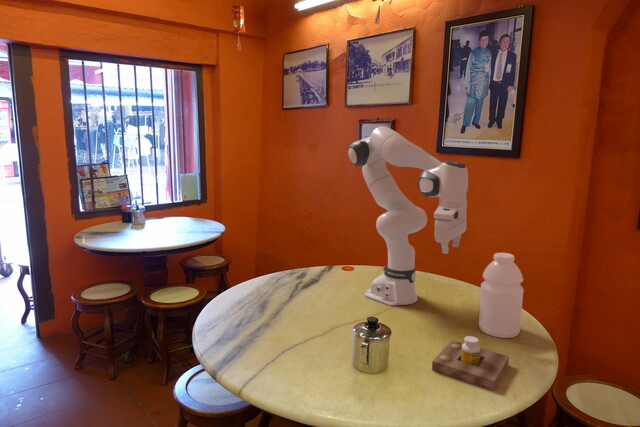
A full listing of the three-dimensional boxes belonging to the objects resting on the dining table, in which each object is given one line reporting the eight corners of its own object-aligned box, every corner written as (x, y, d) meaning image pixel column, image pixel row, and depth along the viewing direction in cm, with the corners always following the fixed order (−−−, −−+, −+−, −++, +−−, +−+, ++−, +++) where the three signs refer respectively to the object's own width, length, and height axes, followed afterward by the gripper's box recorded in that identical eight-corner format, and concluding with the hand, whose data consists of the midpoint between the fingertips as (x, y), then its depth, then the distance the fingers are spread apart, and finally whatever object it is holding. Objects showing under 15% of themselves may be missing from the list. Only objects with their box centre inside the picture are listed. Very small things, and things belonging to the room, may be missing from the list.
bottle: (470, 325, 161) (474, 252, 156) (498, 318, 167) (503, 247, 161) (499, 342, 149) (504, 263, 143) (529, 334, 154) (535, 257, 149)
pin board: (431, 369, 133) (432, 360, 132) (451, 348, 145) (451, 339, 144) (493, 390, 122) (494, 380, 121) (508, 365, 134) (509, 355, 134)
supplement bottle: (468, 361, 137) (469, 333, 135) (482, 369, 133) (484, 339, 131) (456, 366, 134) (458, 337, 132) (471, 374, 130) (473, 345, 128)
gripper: (454, 204, 156) (452, 241, 159) (431, 214, 140) (429, 255, 143) (472, 206, 152) (469, 244, 155) (450, 216, 136) (448, 258, 139)
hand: (450, 249), depth 149 cm, fingers open, 8 cm apart
